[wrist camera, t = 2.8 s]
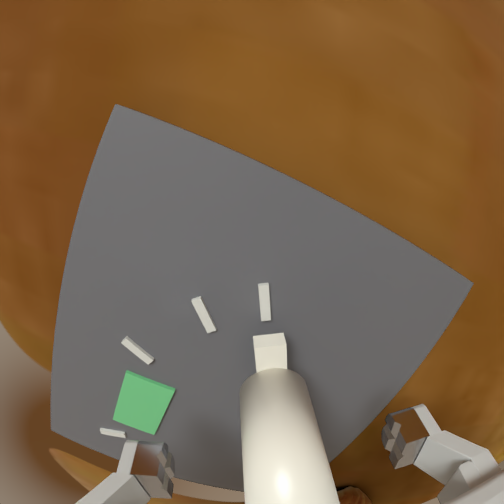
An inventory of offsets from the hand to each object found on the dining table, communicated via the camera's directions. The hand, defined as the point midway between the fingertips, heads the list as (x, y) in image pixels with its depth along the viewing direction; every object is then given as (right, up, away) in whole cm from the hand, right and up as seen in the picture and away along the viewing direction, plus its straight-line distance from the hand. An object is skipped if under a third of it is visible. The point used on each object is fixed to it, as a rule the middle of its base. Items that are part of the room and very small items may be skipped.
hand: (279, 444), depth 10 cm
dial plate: (-2, +1, +6) cm, 6 cm away
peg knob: (0, -1, +5) cm, 5 cm away
